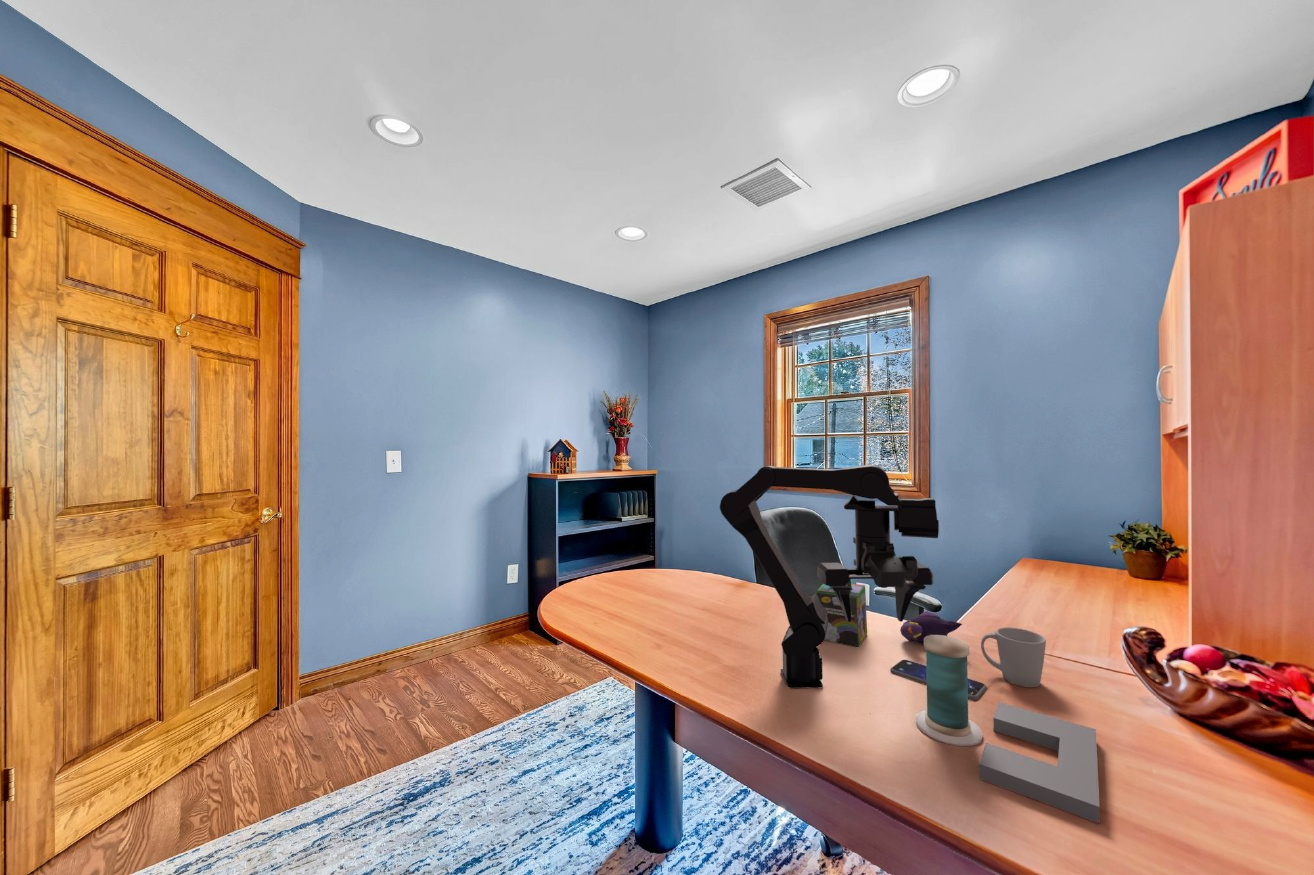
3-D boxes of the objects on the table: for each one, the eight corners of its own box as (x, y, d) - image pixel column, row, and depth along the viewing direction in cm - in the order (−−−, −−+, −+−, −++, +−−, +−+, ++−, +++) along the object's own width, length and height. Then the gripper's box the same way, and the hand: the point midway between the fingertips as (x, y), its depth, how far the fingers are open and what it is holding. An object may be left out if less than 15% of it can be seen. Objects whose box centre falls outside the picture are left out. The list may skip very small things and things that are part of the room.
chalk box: (867, 634, 114) (866, 571, 114) (859, 648, 106) (857, 581, 106) (827, 626, 119) (826, 566, 119) (816, 639, 111) (815, 575, 112)
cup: (1048, 694, 86) (1047, 646, 86) (980, 679, 92) (979, 634, 92) (1045, 677, 92) (1044, 632, 92) (982, 663, 98) (981, 621, 98)
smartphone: (903, 657, 100) (988, 683, 89) (903, 662, 100) (988, 689, 89) (887, 668, 96) (976, 697, 84) (888, 673, 96) (976, 703, 84)
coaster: (935, 746, 72) (935, 743, 72) (905, 712, 81) (905, 709, 81) (996, 746, 72) (996, 742, 72) (959, 712, 81) (959, 709, 81)
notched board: (979, 778, 66) (979, 763, 66) (998, 713, 81) (998, 701, 81) (1099, 823, 58) (1099, 806, 58) (1096, 742, 73) (1095, 729, 73)
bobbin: (938, 736, 74) (937, 651, 74) (917, 713, 80) (916, 634, 80) (980, 736, 74) (978, 651, 74) (955, 713, 80) (954, 634, 80)
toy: (965, 654, 103) (964, 624, 102) (909, 656, 104) (908, 626, 103) (939, 630, 114) (938, 602, 113) (888, 632, 115) (887, 604, 114)
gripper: (836, 545, 80) (838, 640, 80) (950, 543, 80) (952, 638, 79) (815, 532, 91) (817, 615, 91) (915, 530, 91) (917, 614, 91)
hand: (874, 621), depth 88 cm, fingers open, 9 cm apart
